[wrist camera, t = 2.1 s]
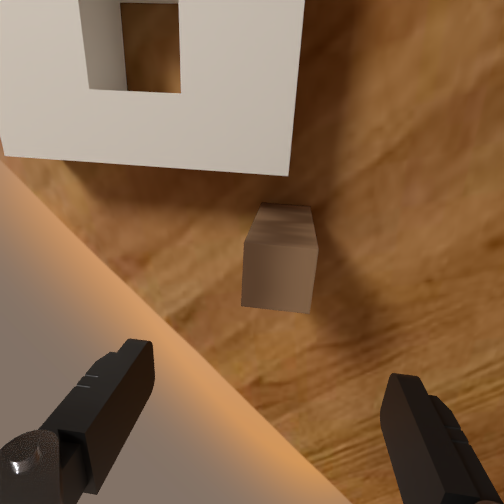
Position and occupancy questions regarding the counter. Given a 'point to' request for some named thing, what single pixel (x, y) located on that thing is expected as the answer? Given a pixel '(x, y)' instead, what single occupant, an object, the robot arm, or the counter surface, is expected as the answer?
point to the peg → (280, 259)
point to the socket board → (151, 103)
